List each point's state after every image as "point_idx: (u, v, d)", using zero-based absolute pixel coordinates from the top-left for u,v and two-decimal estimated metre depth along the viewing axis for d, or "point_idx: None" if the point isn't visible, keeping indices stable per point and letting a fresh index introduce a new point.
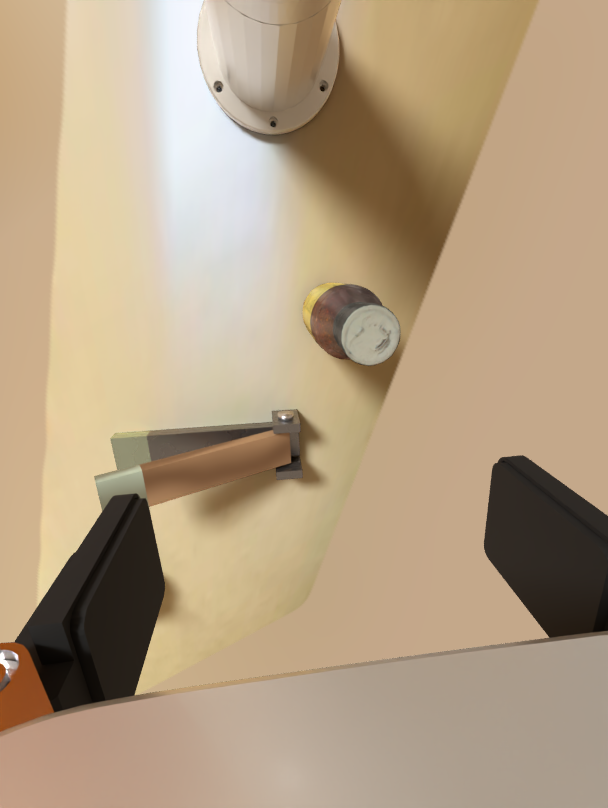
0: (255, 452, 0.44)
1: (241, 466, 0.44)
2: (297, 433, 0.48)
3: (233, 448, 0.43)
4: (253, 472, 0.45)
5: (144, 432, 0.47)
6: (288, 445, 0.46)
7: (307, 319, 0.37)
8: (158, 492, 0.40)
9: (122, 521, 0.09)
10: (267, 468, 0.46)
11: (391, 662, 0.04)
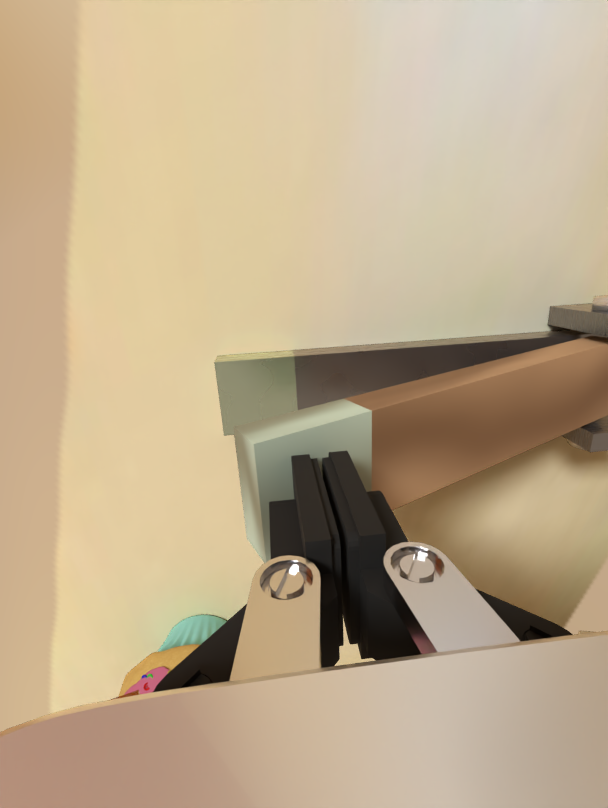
0: (571, 383, 0.18)
1: (545, 416, 0.18)
2: None
3: (543, 367, 0.17)
4: (558, 432, 0.19)
5: (282, 352, 0.21)
6: None
7: None
8: (396, 478, 0.14)
9: (314, 474, 0.10)
10: (577, 424, 0.20)
11: (391, 662, 0.04)
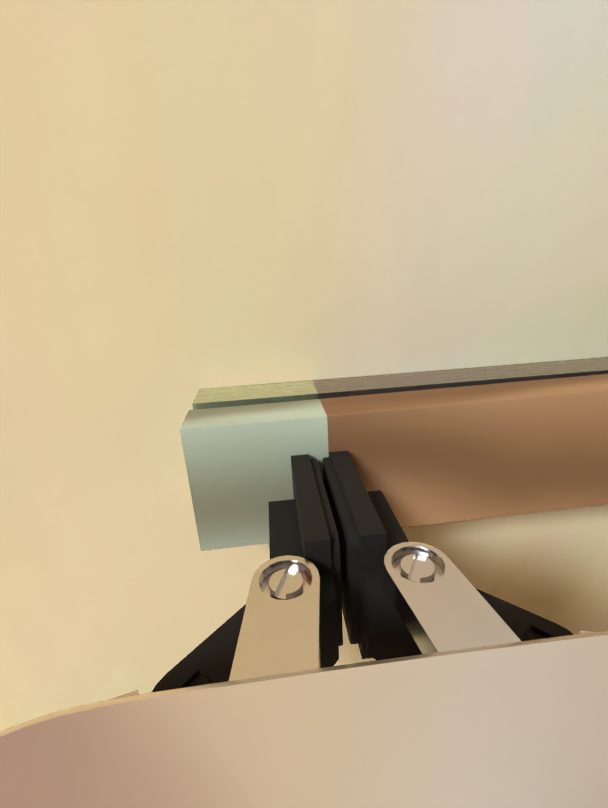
0: None
1: None
2: None
3: None
4: None
5: (298, 384, 0.14)
6: None
7: None
8: None
9: (313, 474, 0.10)
10: None
11: (391, 662, 0.04)
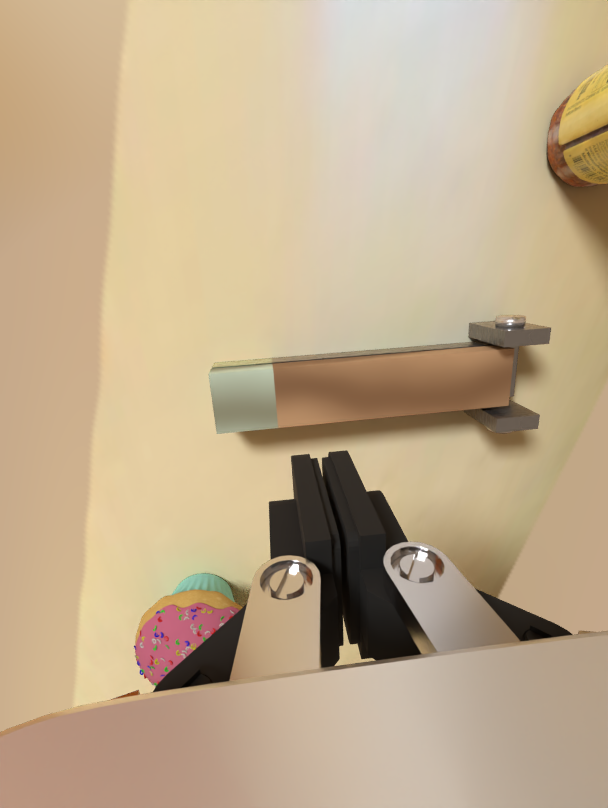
0: (450, 374, 0.27)
1: (424, 394, 0.27)
2: (515, 357, 0.29)
3: (415, 360, 0.26)
4: (442, 408, 0.27)
5: (264, 359, 0.28)
6: (508, 373, 0.27)
7: None
8: (293, 408, 0.26)
9: (314, 474, 0.10)
10: (466, 407, 0.27)
11: (391, 662, 0.04)
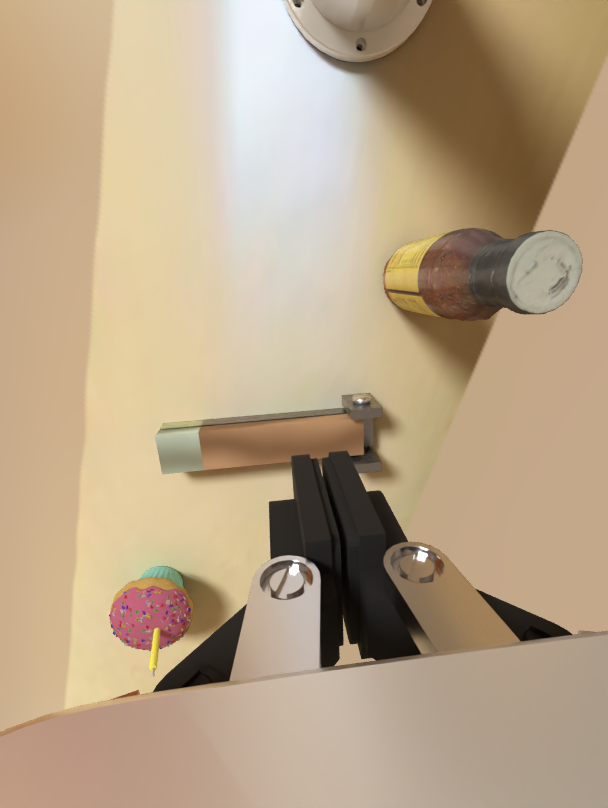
0: (320, 435, 0.39)
1: (303, 447, 0.40)
2: (372, 420, 0.42)
3: (294, 426, 0.39)
4: (316, 457, 0.40)
5: (197, 421, 0.41)
6: (361, 434, 0.40)
7: (405, 278, 0.31)
8: (213, 457, 0.39)
9: (314, 474, 0.10)
10: None
11: (391, 662, 0.04)
